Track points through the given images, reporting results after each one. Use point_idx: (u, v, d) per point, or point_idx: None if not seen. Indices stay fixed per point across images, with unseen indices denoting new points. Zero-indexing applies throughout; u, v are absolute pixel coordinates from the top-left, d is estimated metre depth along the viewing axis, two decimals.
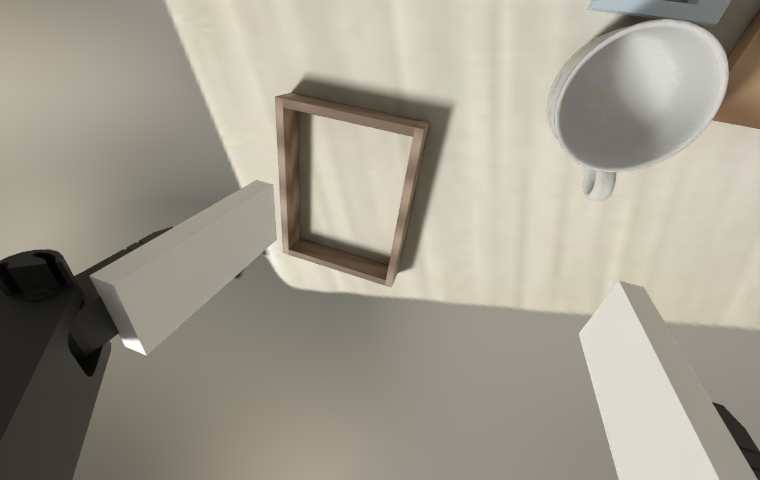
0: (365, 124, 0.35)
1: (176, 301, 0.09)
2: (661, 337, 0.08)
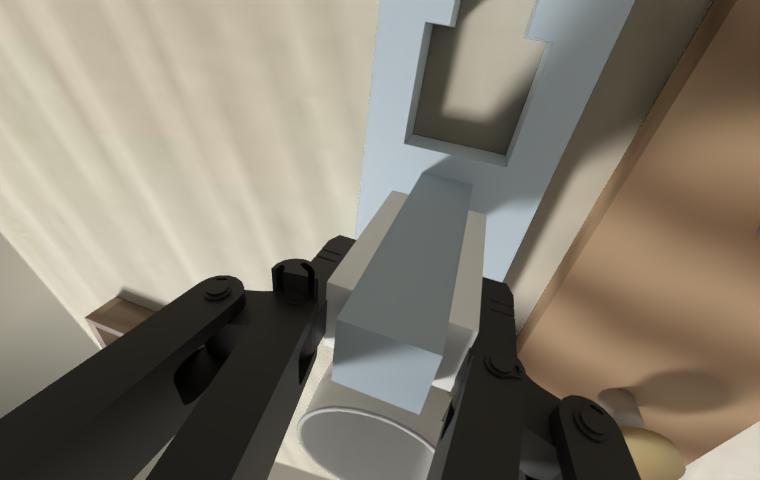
0: None
1: None
2: (475, 240, 0.11)
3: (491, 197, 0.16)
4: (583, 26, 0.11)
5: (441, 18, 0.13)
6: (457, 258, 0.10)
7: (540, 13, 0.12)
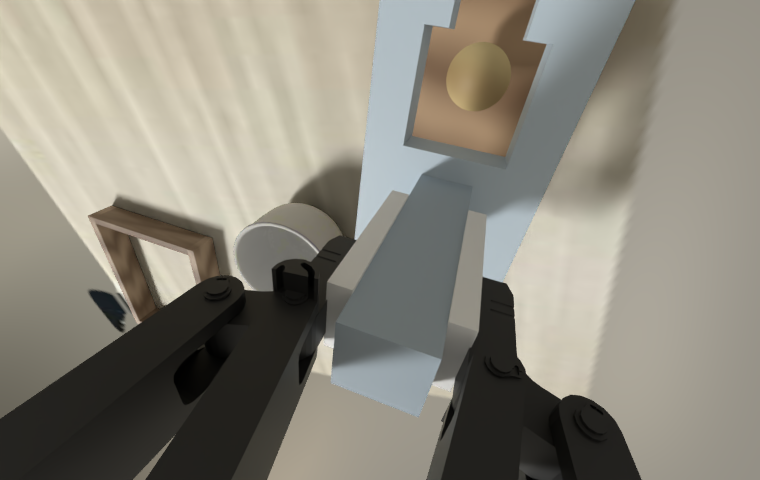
0: (154, 242, 0.44)
1: None
2: (474, 240, 0.11)
3: (491, 198, 0.16)
4: (582, 29, 0.11)
5: (440, 20, 0.13)
6: (456, 260, 0.10)
7: (539, 16, 0.12)
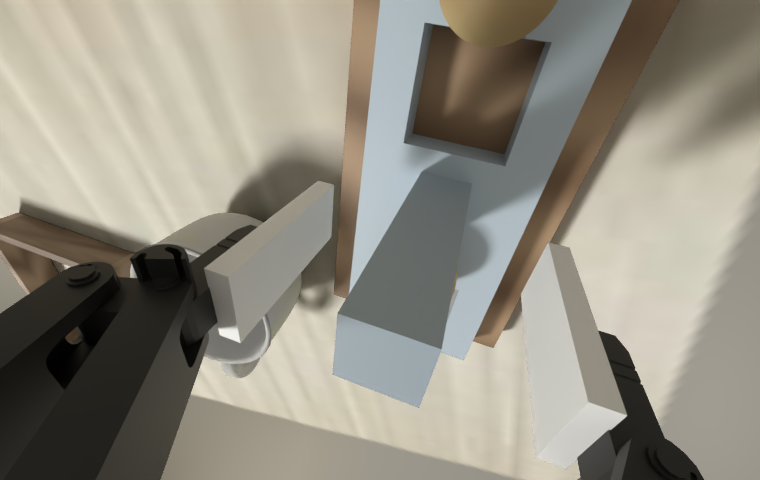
0: (61, 262, 0.33)
1: (263, 293, 0.10)
2: (571, 283, 0.10)
3: (490, 195, 0.16)
4: (580, 27, 0.12)
5: (440, 19, 0.13)
6: (456, 255, 0.10)
7: None
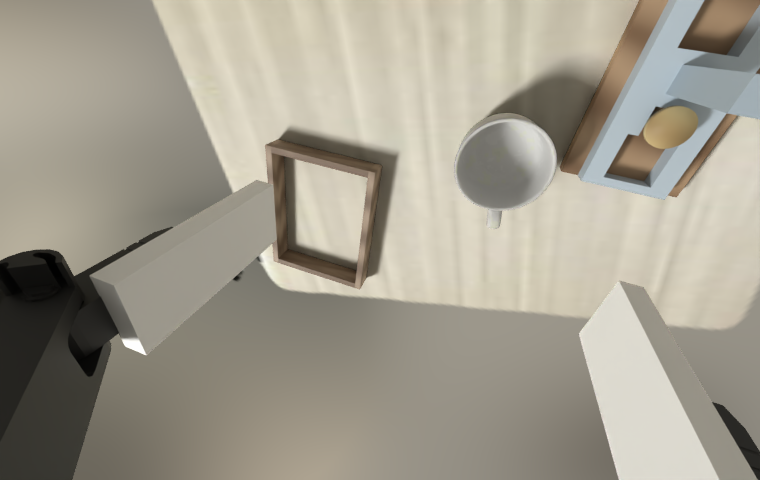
0: (332, 167, 0.47)
1: (176, 301, 0.09)
2: (661, 337, 0.08)
3: None
4: None
5: None
6: None
7: None
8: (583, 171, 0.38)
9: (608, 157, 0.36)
